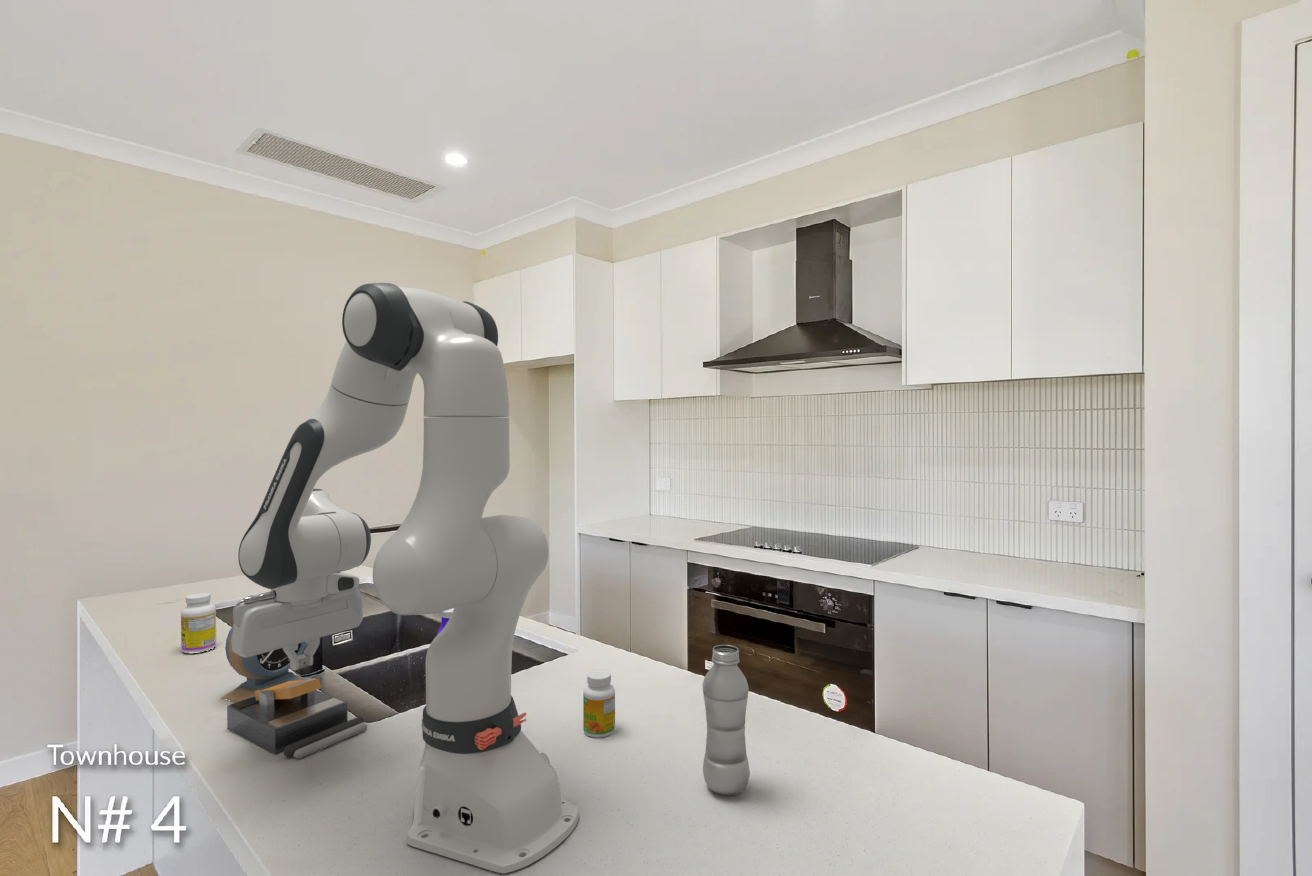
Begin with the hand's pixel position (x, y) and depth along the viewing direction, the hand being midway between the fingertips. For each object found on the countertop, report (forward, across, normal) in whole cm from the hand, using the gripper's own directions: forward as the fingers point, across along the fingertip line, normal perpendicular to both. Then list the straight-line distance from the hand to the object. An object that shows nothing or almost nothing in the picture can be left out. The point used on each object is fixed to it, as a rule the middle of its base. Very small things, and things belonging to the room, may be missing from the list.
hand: (301, 667), depth 107 cm
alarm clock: (+12, +6, +24) cm, 27 cm away
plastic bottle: (+10, +24, -68) cm, 72 cm away
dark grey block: (+11, 0, +4) cm, 12 cm away
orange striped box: (+5, 0, +5) cm, 7 cm away
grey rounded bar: (+11, +1, -6) cm, 13 cm away
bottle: (+11, +23, -10) cm, 28 cm away
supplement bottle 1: (+12, +9, +62) cm, 63 cm away
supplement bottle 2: (+11, +28, -42) cm, 51 cm away
